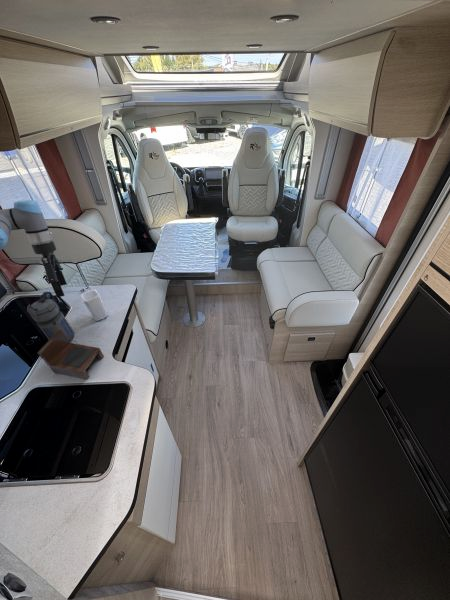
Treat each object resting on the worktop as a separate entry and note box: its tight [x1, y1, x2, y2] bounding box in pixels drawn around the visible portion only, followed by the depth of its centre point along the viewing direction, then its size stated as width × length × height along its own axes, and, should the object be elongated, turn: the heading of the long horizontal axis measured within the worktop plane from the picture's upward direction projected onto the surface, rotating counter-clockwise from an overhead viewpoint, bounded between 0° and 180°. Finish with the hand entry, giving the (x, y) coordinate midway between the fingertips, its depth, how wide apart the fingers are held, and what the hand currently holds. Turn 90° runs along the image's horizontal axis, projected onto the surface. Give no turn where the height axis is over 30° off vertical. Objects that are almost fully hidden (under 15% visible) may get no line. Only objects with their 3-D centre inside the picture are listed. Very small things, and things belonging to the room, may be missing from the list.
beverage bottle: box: [26, 291, 75, 343], centre depth 113 cm, size 10×13×25 cm
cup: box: [80, 288, 108, 322], centre depth 127 cm, size 7×7×15 cm
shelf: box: [37, 330, 105, 381], centre depth 105 cm, size 16×12×14 cm
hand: (62, 290), depth 110 cm, fingers open, 13 cm apart
